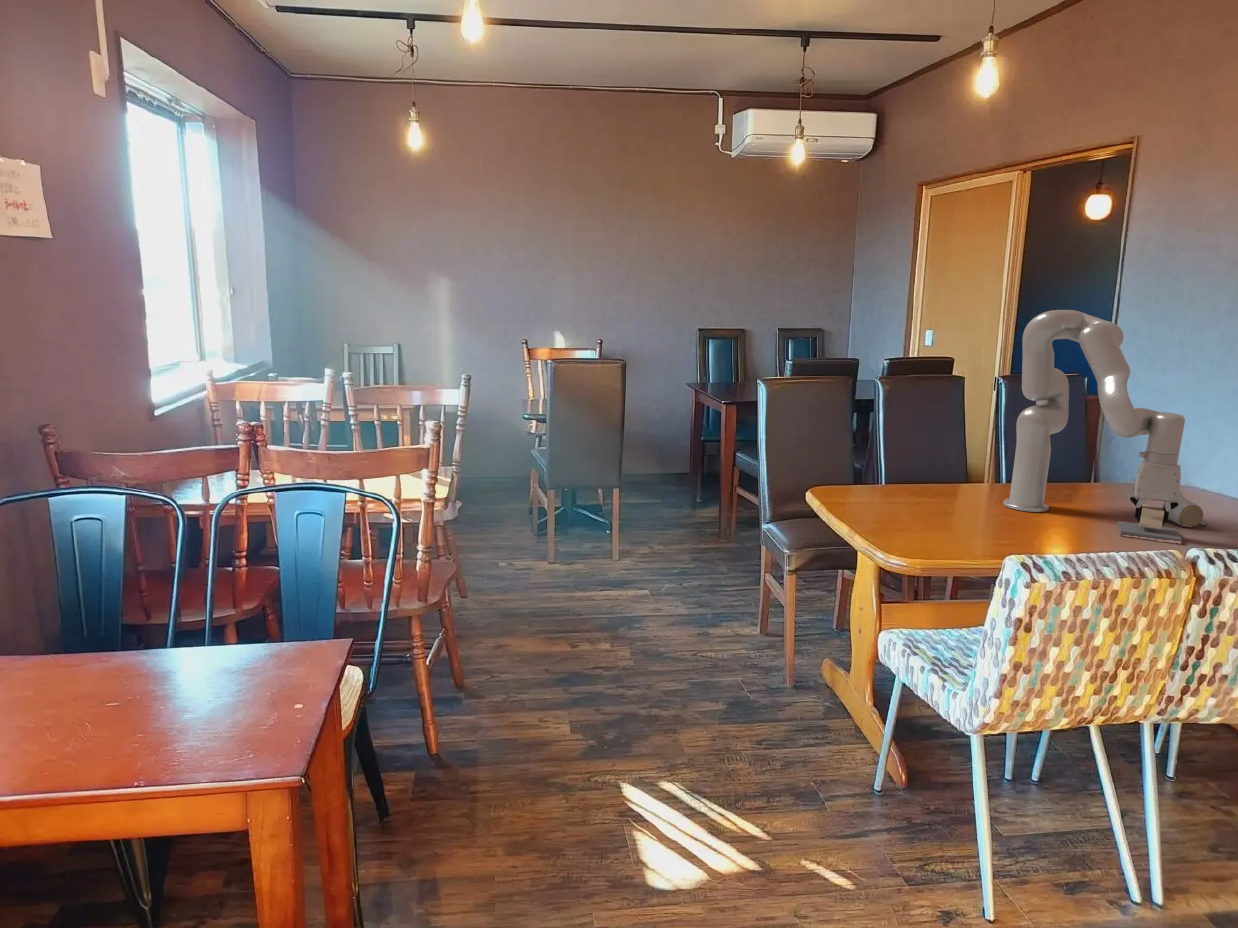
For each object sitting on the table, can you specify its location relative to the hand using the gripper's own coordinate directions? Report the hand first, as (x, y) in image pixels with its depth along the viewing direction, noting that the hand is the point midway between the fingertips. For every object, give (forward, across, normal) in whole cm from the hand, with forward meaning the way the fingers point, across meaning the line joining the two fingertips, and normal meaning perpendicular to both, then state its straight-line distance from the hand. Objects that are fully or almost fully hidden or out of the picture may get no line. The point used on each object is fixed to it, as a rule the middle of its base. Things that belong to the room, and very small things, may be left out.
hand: (1150, 521), depth 224 cm
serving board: (+4, 0, 0) cm, 4 cm away
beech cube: (+1, 0, 0) cm, 1 cm away
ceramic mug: (+4, +11, +18) cm, 22 cm away
